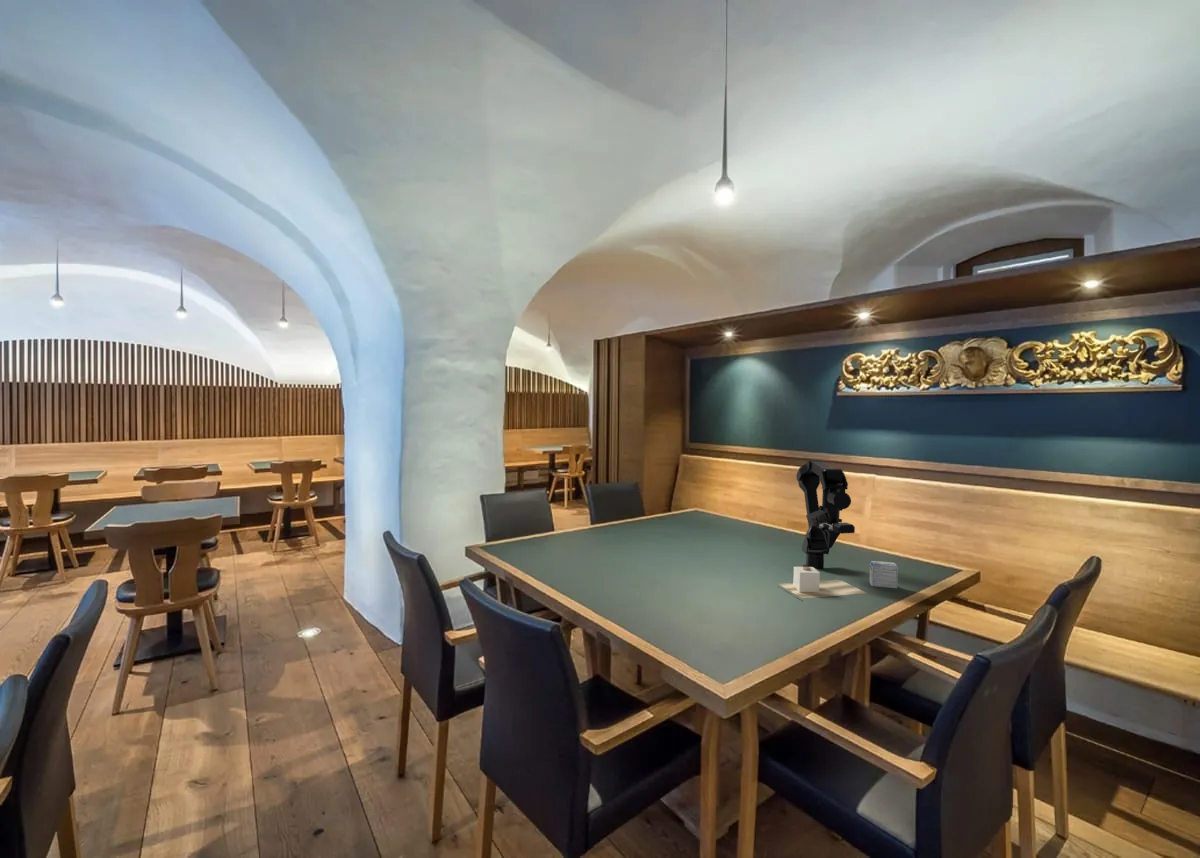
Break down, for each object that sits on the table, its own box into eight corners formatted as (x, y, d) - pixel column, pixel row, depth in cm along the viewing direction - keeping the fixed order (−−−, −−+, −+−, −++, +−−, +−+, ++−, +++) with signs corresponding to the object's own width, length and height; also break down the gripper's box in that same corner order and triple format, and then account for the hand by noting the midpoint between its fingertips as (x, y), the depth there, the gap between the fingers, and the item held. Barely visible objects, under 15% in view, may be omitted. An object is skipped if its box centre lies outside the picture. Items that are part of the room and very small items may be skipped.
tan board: (778, 586, 186) (778, 573, 186) (839, 582, 192) (839, 569, 192) (801, 601, 173) (802, 587, 173) (867, 596, 178) (867, 582, 178)
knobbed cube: (799, 592, 178) (800, 570, 178) (793, 585, 184) (793, 564, 184) (819, 592, 178) (819, 571, 177) (812, 585, 184) (813, 565, 184)
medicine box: (894, 587, 188) (895, 562, 187) (897, 591, 183) (898, 566, 183) (868, 584, 190) (869, 560, 189) (871, 589, 185) (872, 564, 185)
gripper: (795, 499, 199) (794, 542, 200) (827, 509, 181) (825, 556, 182) (822, 499, 202) (820, 540, 202) (856, 508, 183) (855, 554, 184)
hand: (829, 547), depth 192 cm, fingers closed
